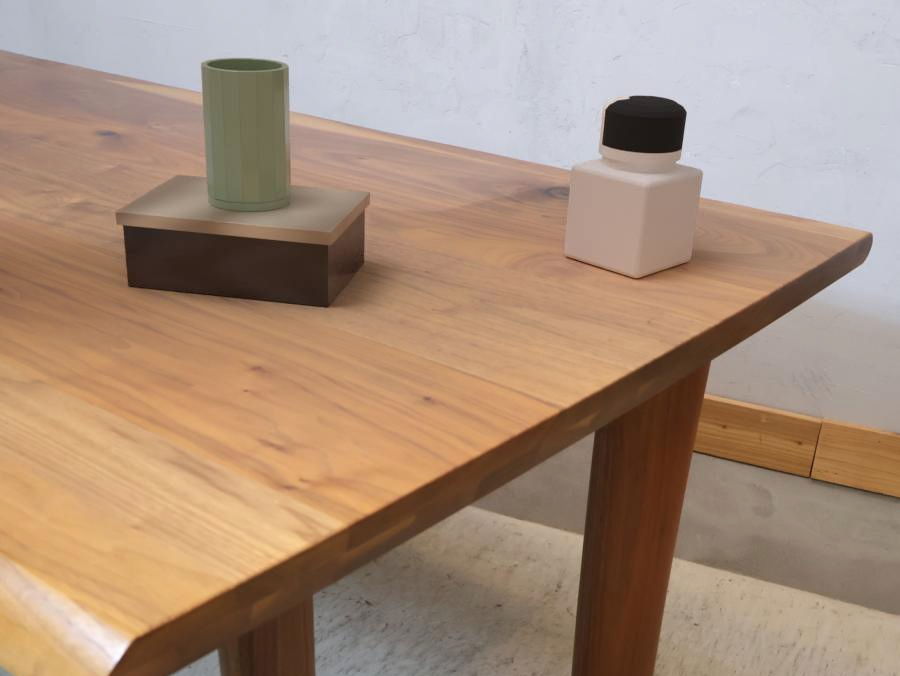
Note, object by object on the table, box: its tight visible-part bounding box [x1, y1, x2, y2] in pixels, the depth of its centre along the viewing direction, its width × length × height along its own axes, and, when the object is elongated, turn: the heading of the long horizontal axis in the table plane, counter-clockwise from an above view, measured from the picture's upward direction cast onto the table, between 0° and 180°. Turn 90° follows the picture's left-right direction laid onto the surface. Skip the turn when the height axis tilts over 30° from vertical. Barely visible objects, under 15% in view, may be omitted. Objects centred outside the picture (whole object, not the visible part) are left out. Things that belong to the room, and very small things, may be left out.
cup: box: [200, 57, 292, 212], centre depth 77 cm, size 6×6×9 cm
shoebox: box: [115, 174, 371, 308], centre depth 80 cm, size 15×11×5 cm
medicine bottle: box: [563, 94, 704, 279], centre depth 86 cm, size 7×7×12 cm
